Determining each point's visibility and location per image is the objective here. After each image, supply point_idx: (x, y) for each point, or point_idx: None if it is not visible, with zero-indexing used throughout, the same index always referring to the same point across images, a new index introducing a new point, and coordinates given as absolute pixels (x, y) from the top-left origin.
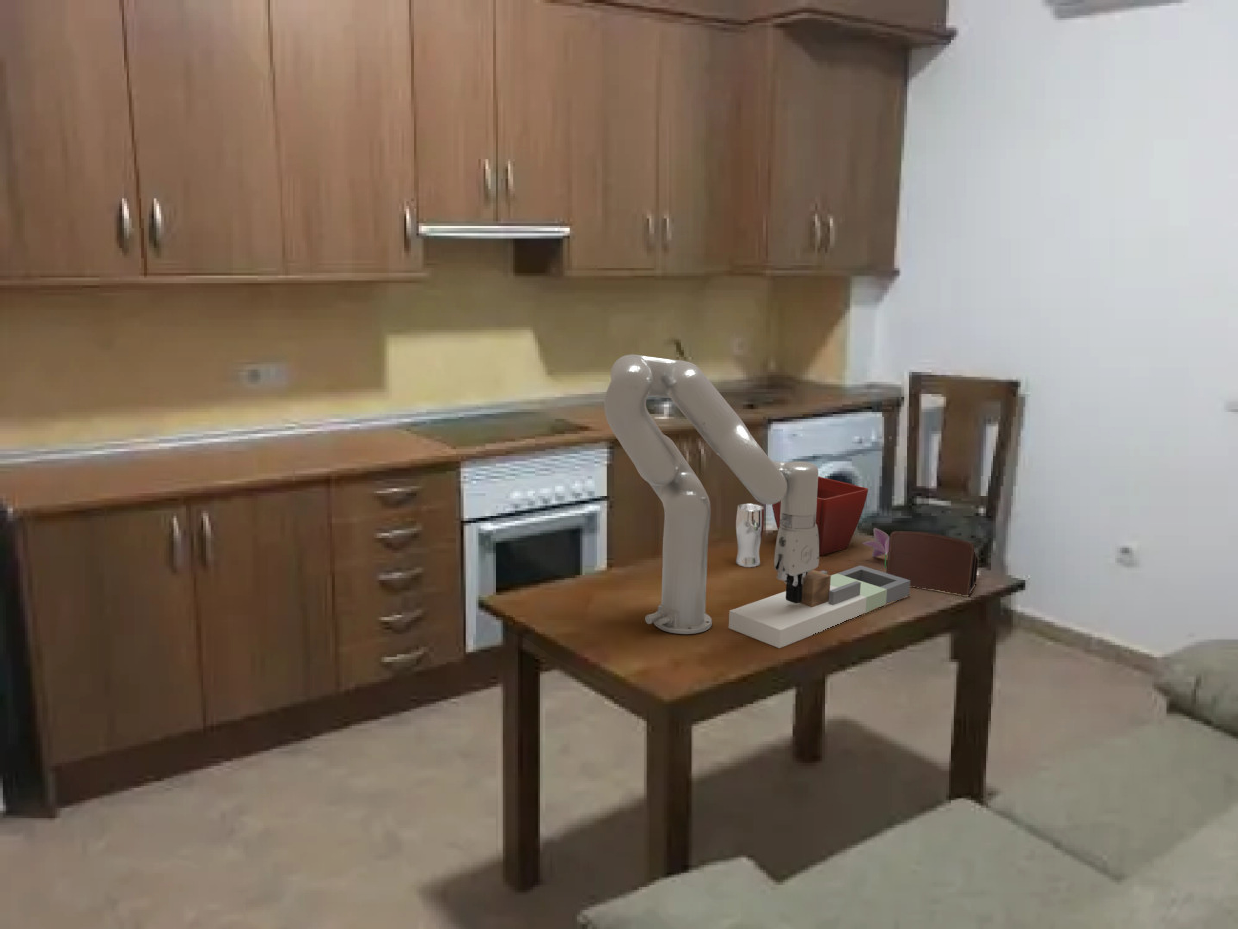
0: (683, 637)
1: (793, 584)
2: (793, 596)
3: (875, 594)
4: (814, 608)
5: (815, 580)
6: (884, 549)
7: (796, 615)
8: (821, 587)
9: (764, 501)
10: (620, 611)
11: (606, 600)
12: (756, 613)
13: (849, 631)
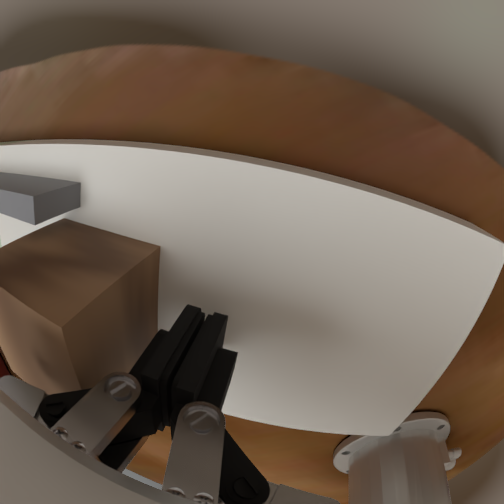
0: (456, 413)
1: (223, 428)
2: (225, 357)
3: None
4: (162, 228)
5: (44, 318)
6: None
7: (319, 263)
8: (45, 264)
9: None
10: None
11: (338, 499)
12: (383, 390)
13: (156, 78)
